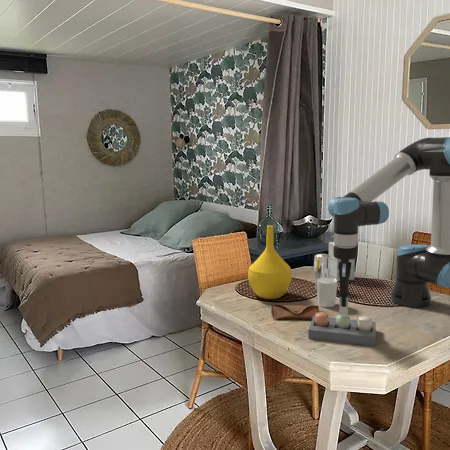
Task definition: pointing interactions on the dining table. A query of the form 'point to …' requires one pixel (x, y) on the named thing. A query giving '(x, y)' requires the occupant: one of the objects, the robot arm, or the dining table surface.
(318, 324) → the button terracotta
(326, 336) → the panel
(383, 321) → the dining table surface
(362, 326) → the button cream
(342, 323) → the button sage
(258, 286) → the vase
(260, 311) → the dining table surface
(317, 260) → the beer glass
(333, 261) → the supplement box
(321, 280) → the white cup
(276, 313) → the sunglasses case
